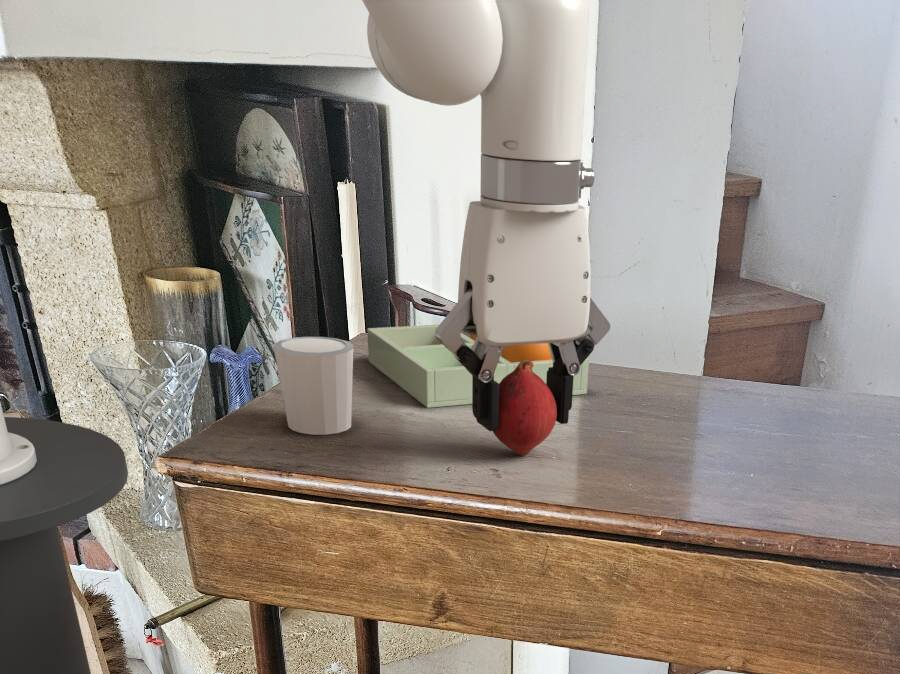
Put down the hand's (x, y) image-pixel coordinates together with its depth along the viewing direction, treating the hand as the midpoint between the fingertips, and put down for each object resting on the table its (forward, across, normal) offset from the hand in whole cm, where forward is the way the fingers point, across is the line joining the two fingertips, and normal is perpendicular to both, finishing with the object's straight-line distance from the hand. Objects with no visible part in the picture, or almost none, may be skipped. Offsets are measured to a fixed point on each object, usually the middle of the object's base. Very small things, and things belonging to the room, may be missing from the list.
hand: (522, 420), depth 88 cm
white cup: (+3, +14, -13) cm, 19 cm away
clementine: (+2, -10, -20) cm, 22 cm away
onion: (+3, 0, 0) cm, 3 cm away
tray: (+3, -6, -24) cm, 25 cm away
